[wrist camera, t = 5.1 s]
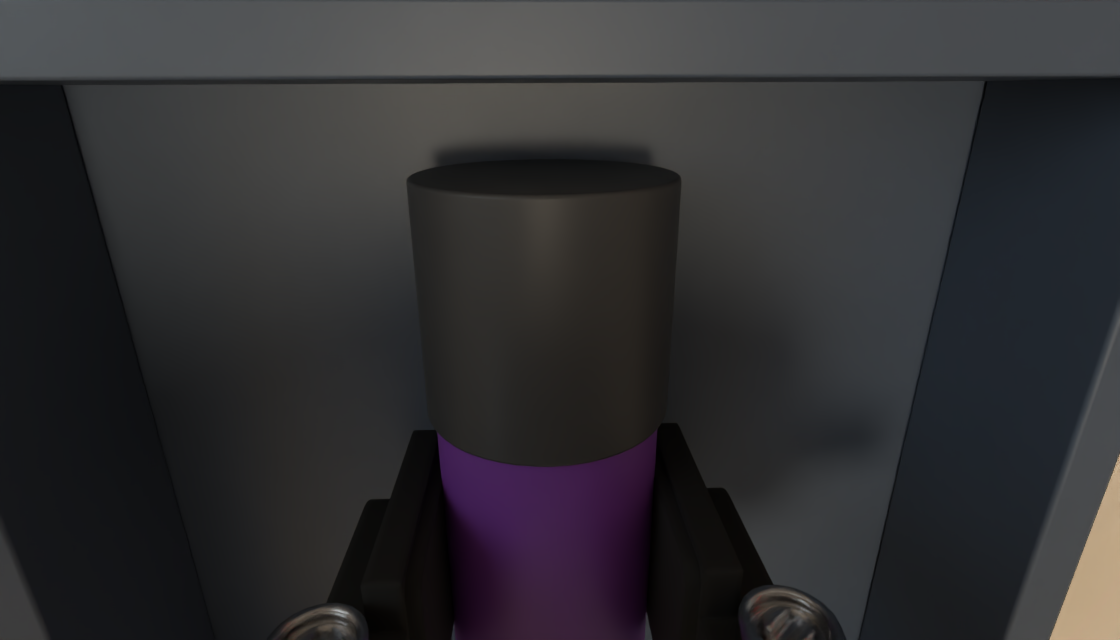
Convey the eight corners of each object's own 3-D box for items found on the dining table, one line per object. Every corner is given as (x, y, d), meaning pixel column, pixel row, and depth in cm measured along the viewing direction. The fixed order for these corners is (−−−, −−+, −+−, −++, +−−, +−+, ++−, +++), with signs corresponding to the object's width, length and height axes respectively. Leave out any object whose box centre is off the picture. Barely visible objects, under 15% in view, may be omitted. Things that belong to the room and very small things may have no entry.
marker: (470, 685, 15) (452, 877, 11) (428, 159, 10) (376, 196, 7) (626, 677, 15) (659, 863, 11) (651, 157, 10) (718, 192, 7)
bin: (225, 747, 15) (131, 949, 12) (14, 31, 10) (-300, -5, 6) (858, 715, 16) (954, 896, 13) (1024, 31, 10) (1297, -3, 7)
